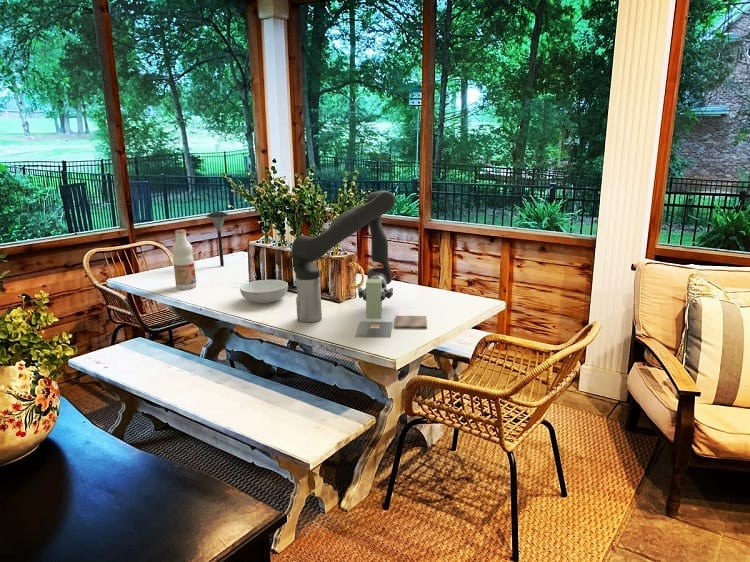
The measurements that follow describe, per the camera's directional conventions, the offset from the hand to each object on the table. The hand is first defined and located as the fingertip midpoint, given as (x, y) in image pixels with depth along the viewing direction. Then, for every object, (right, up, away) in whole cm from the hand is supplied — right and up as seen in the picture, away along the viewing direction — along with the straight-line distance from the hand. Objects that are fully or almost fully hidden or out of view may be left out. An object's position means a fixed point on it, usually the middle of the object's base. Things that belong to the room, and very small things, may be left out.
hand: (373, 298), depth 210 cm
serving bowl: (-48, -2, +42) cm, 64 cm away
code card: (0, -12, +2) cm, 12 cm away
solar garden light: (-84, +15, +105) cm, 136 cm away
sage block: (0, -7, +4) cm, 8 cm away
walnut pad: (+14, -10, +9) cm, 19 cm away
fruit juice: (-91, +3, +64) cm, 111 cm away
